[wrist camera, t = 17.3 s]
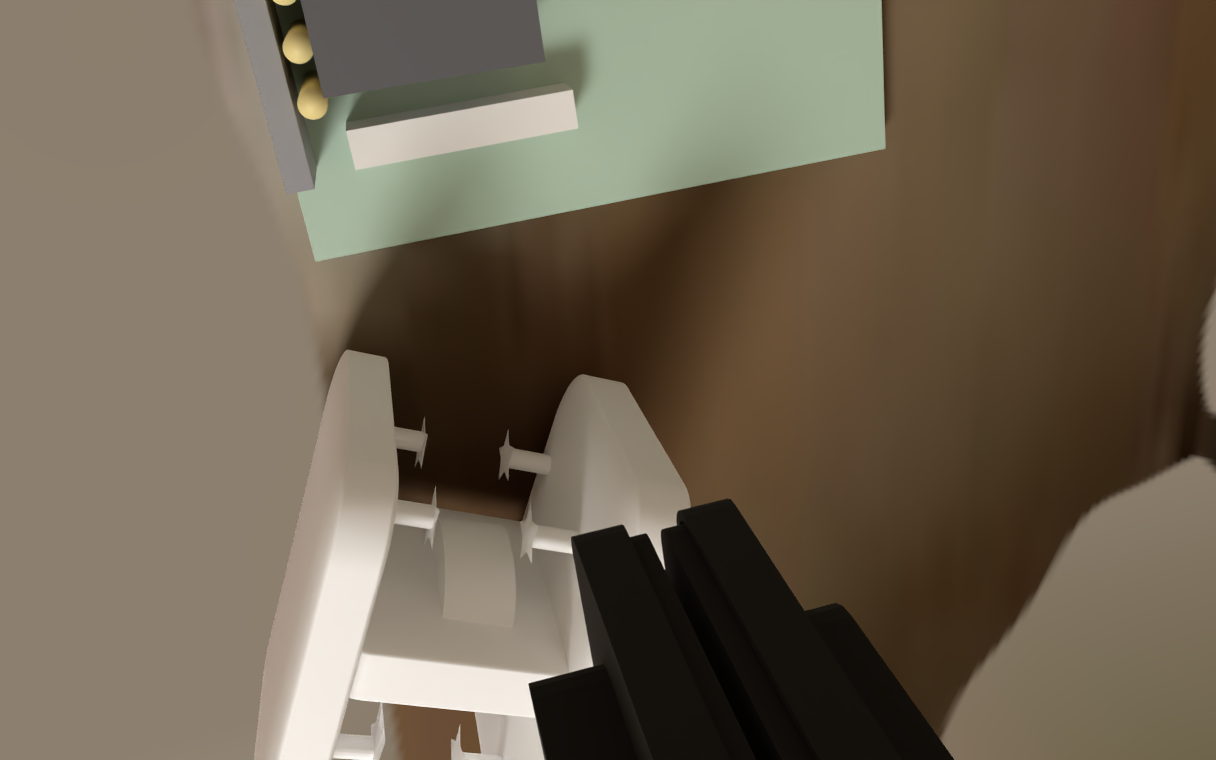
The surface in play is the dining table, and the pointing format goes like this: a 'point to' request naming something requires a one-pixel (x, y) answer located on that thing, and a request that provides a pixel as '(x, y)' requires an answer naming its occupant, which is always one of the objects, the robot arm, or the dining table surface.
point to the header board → (570, 114)
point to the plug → (417, 40)
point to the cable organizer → (446, 572)
